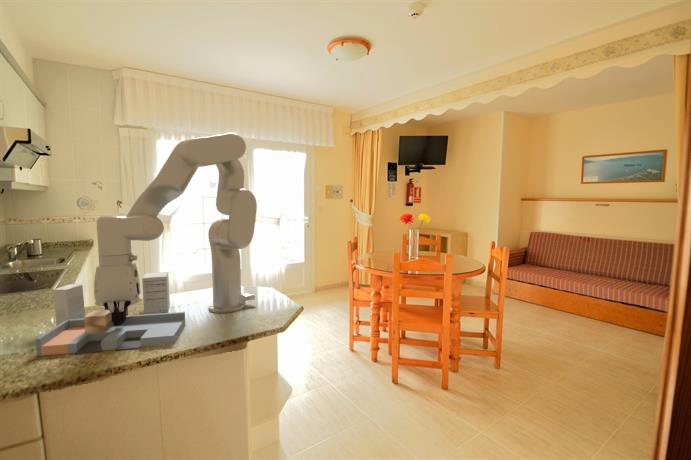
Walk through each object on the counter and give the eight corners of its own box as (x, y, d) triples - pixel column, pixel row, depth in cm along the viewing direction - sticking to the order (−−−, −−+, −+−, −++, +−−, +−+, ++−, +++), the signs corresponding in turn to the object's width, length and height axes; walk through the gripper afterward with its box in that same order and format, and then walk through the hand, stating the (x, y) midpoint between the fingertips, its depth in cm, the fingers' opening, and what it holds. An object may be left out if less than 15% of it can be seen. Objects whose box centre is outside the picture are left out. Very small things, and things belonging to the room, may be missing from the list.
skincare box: (72, 320, 104) (70, 283, 103) (86, 321, 104) (83, 284, 103) (55, 328, 98) (52, 289, 97) (69, 328, 98) (66, 289, 97)
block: (114, 324, 95) (113, 309, 95) (105, 331, 90) (104, 315, 90) (95, 325, 94) (94, 310, 94) (85, 332, 89) (84, 316, 89)
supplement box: (146, 308, 117) (145, 273, 115) (170, 305, 120) (168, 271, 118) (143, 315, 110) (141, 277, 109) (168, 312, 113) (166, 276, 111)
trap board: (185, 325, 101) (184, 311, 101) (173, 345, 88) (172, 329, 87) (67, 334, 94) (66, 319, 94) (34, 357, 80) (32, 340, 80)
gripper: (150, 257, 97) (153, 317, 99) (91, 258, 93) (95, 321, 95) (141, 261, 89) (144, 327, 91) (76, 263, 86) (81, 331, 88)
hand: (119, 324), depth 93 cm, fingers closed
